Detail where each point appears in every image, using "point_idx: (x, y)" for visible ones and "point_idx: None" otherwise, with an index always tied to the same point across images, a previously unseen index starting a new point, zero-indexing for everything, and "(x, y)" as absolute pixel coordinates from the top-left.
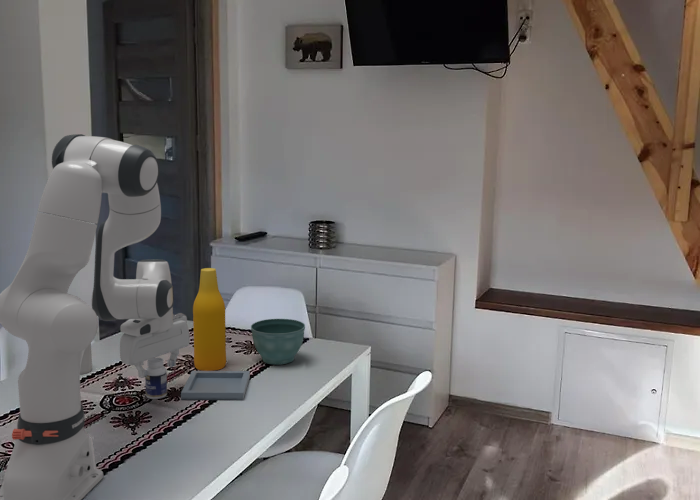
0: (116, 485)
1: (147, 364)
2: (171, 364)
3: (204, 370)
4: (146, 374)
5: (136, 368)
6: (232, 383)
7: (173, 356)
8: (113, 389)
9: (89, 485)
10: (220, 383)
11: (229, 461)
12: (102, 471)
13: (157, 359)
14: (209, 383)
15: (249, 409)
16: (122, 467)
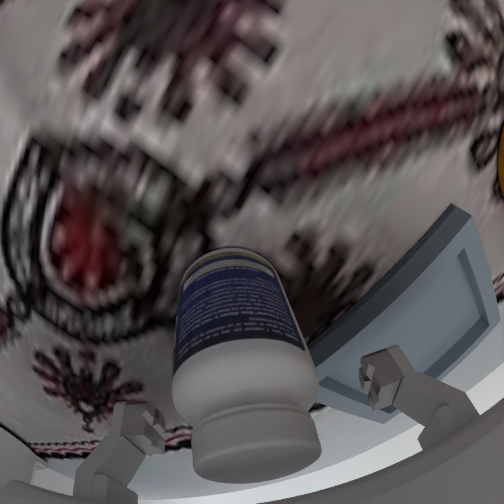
0: (64, 471)
1: (193, 438)
2: (368, 388)
3: (499, 182)
4: (158, 431)
5: (96, 447)
6: (446, 337)
7: (415, 407)
8: (86, 76)
9: (37, 469)
10: (437, 324)
11: (200, 495)
12: (45, 467)
13: (280, 463)
14: (427, 309)
15: (344, 438)
16: (68, 462)
